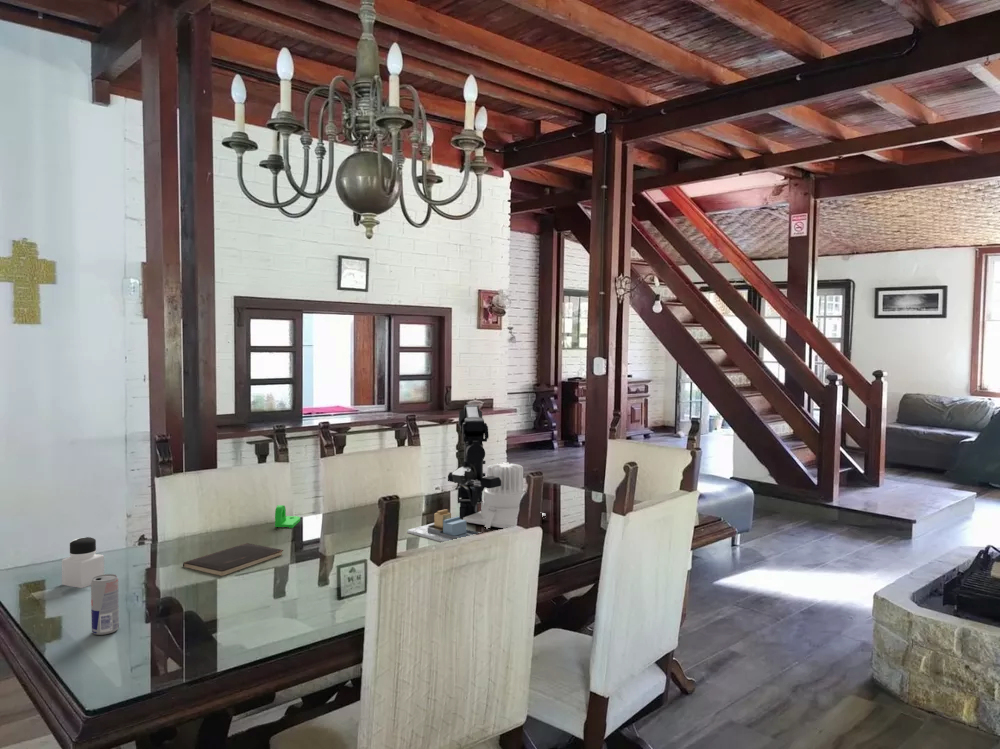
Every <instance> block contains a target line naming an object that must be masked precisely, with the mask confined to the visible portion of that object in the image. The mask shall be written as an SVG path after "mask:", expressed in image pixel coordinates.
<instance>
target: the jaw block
mask: <svg viewBox="0 0 1000 749" xmlns="http://www.w3.org/2000/svg"><path fill="white" fill-rule="evenodd" d="M433 516H434V517H433V519H434V520H433V523H434V528H436V529H440V530H443V520H446V519H450V518H452V513H451V512H449V509H448V508H447V509H445V508H444V509H441V510H437V511H436V512H435V513H434V515H433Z"/></svg>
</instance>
